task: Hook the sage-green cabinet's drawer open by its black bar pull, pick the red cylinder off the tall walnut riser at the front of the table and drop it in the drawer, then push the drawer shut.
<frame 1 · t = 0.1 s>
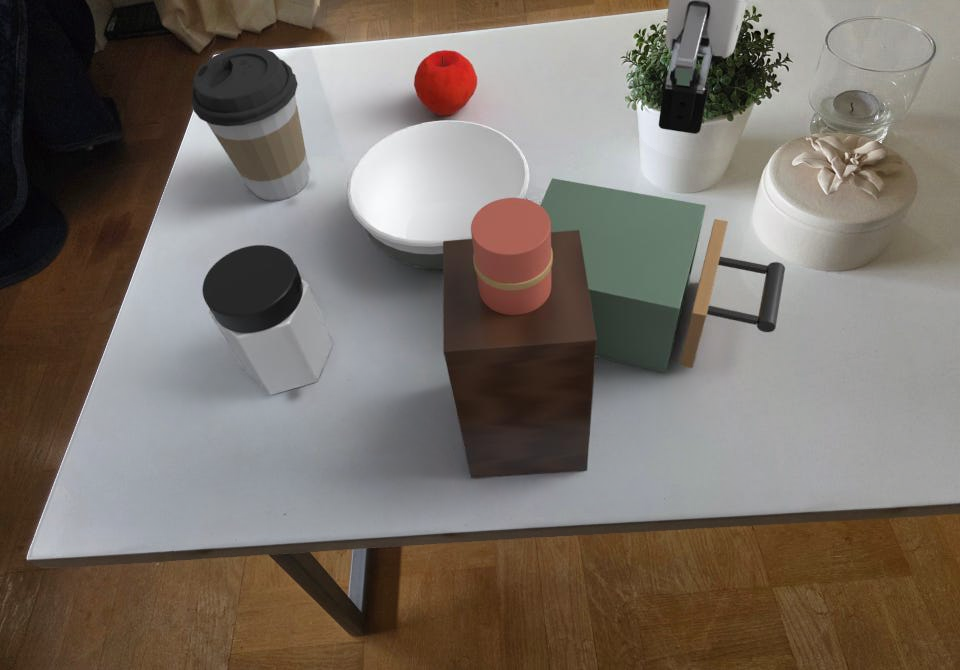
hand: (690, 92, 60), 20 cm above the table, tool pointing down, fingers open, 9 cm apart
riser: (524, 423, 66), on the table
red cylinder: (515, 287, 50), point 19 cm above the table, touching riser
drawer: (667, 286, 67), point 5 cm above the table, slide at 1.0 cm
apple: (449, 110, 94), on the table
jar: (289, 359, 72), on the table
bowl: (447, 235, 81), on the table
coffee cup: (280, 182, 88), on the table
cabinet: (604, 305, 73), on the table
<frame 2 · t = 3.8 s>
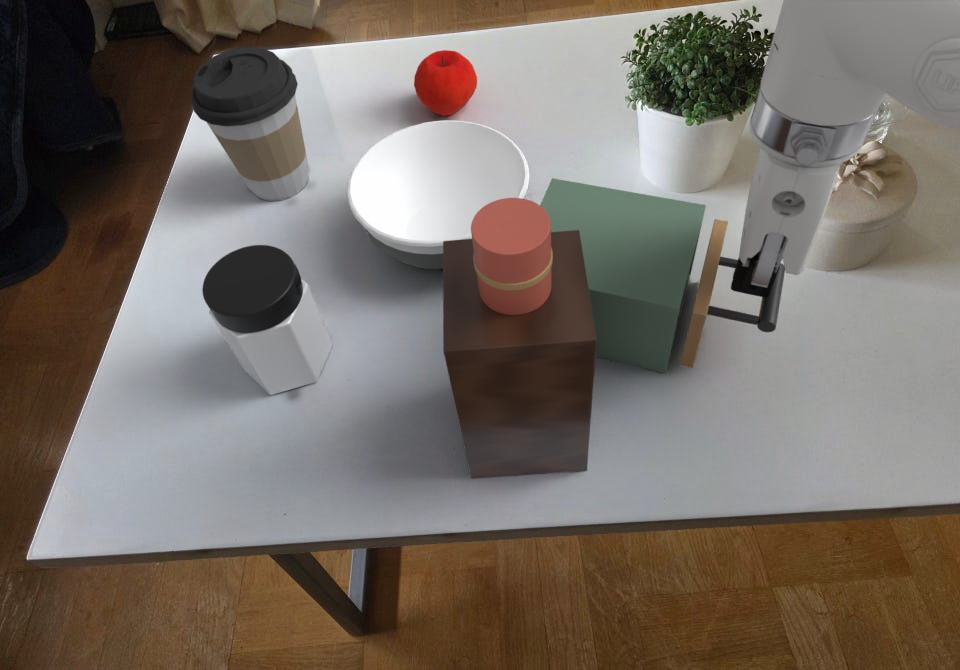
hand: (750, 286, 64), 7 cm above the table, tool pointing down, fingers closed
drawer: (667, 286, 67), point 5 cm above the table, slide at 1.0 cm, touching gripper
everything else where it was.
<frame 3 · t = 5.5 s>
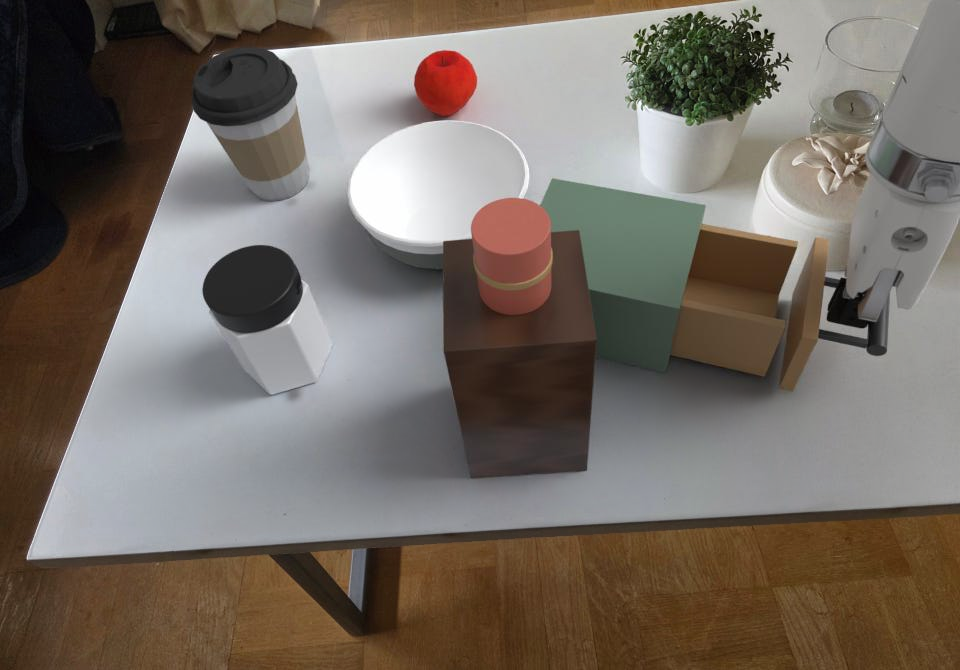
hand: (845, 317, 63), 5 cm above the table, tool pointing down, fingers closed
drawer: (765, 306, 65), point 5 cm above the table, slide at 9.7 cm, touching gripper
everything else where it was.
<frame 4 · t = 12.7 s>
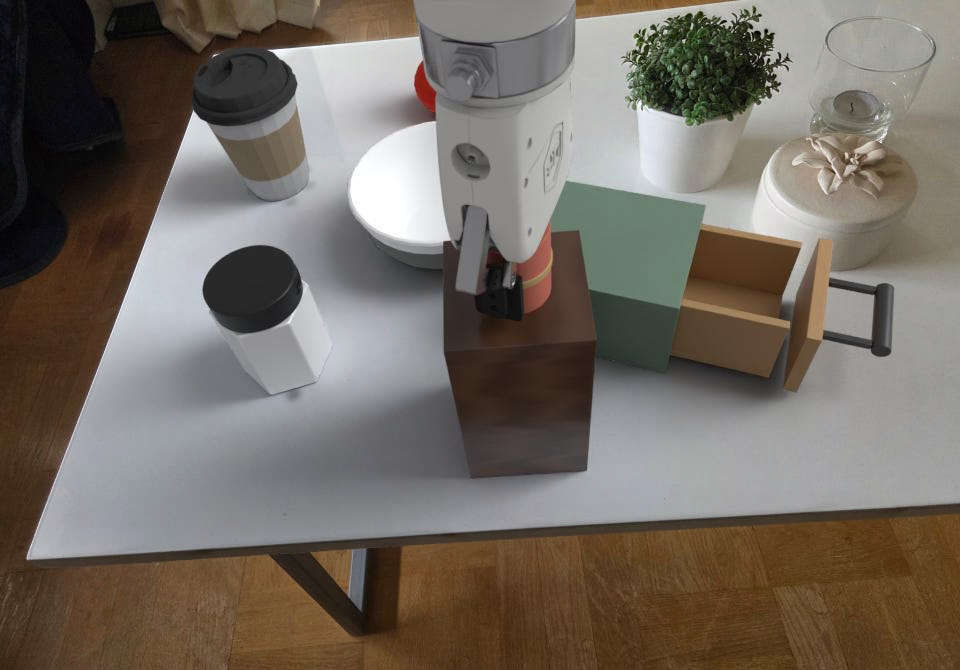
hand: (514, 278, 50), 20 cm above the table, tool pointing down, fingers closed on red cylinder, 5 cm apart
red cylinder: (515, 287, 50), point 19 cm above the table, touching gripper, riser
drawer: (769, 307, 65), point 5 cm above the table, slide at 10.0 cm
everything else where it was.
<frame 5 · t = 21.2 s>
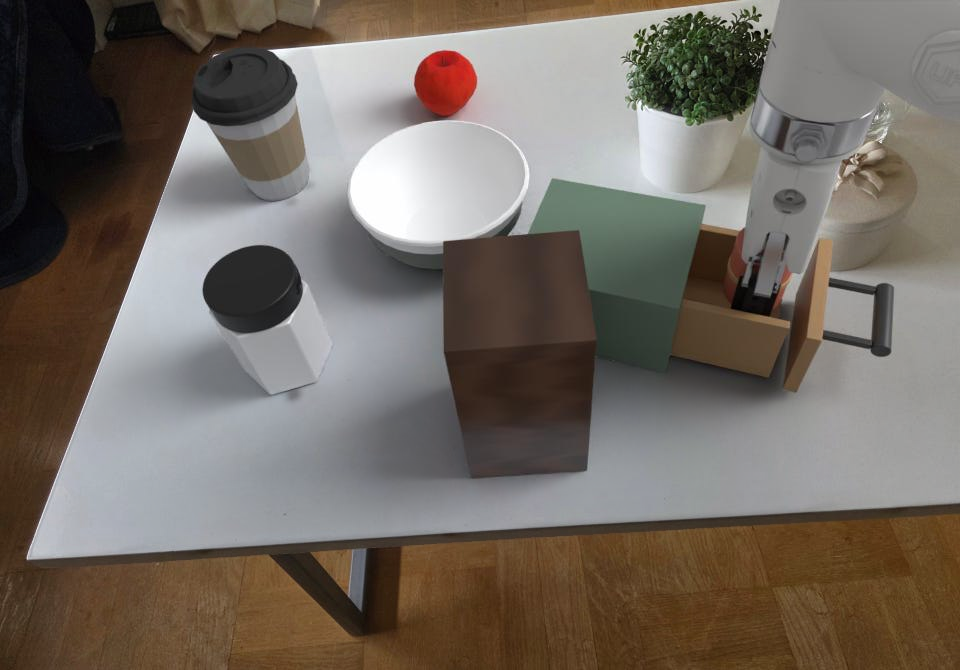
hand: (754, 285, 63), 7 cm above the table, tool pointing down, fingers closed on red cylinder, 5 cm apart
red cylinder: (752, 291, 64), point 6 cm above the table, touching gripper
everything else where it was.
when the fingers open (9 cm above the table, at t = 30.2 s): red cylinder drops 6 cm, resting on drawer.
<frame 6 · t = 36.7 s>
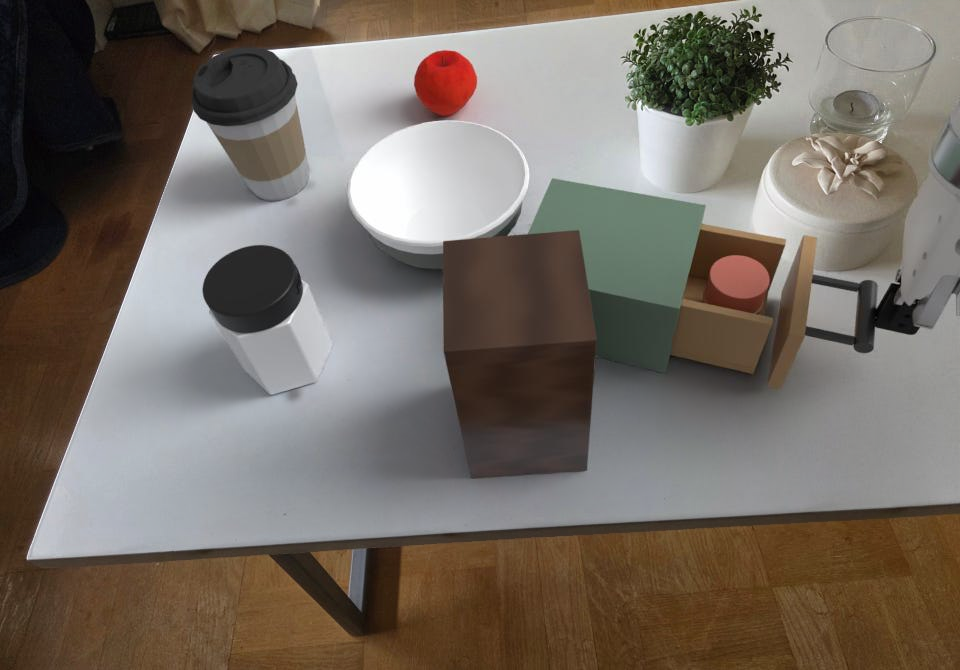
hand: (894, 323, 62), 6 cm above the table, tool pointing down, fingers closed
red cylinder: (726, 318, 68), point 2 cm above the table, touching drawer
drawer: (753, 303, 65), point 5 cm above the table, slide at 8.7 cm, touching gripper, red cylinder
everything else where it was.
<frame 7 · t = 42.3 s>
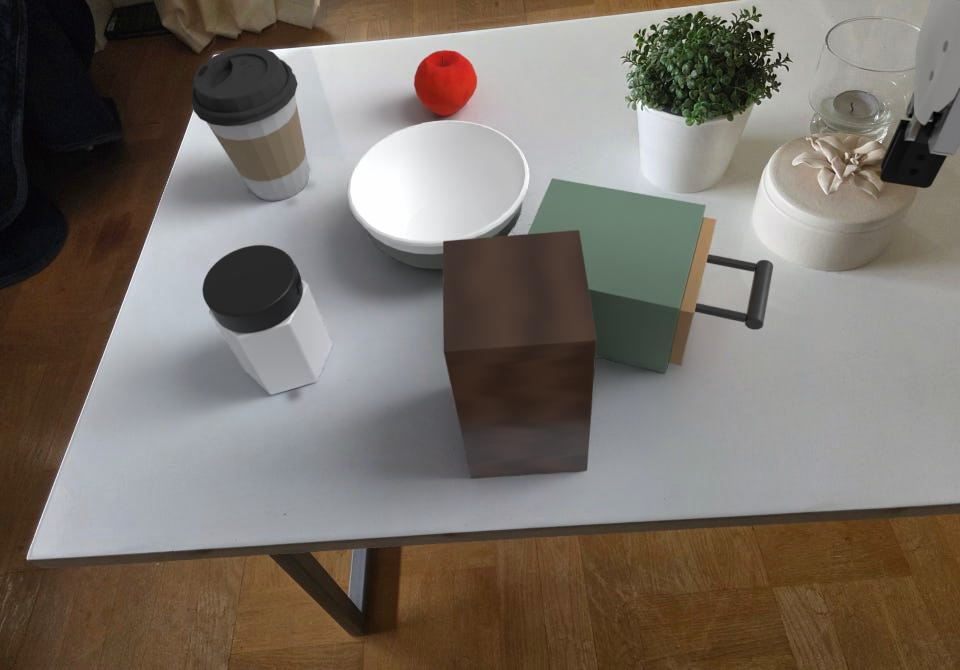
hand: (904, 176, 51), 21 cm above the table, tool pointing down, fingers closed
red cylinder: (633, 298, 70), point 2 cm above the table, touching drawer
drawer: (656, 283, 68), point 5 cm above the table, slide at 0.0 cm, touching cabinet, red cylinder
everything else where it was.
at the end: drawer pulled out 10.0 cm at the most during the clip, back to where it started at the end; red cylinder inside the target area in the cabinet (2.7 cm from its centre), point 2.0 cm above the cabinet's base; drawer slide at 0.0 cm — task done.
